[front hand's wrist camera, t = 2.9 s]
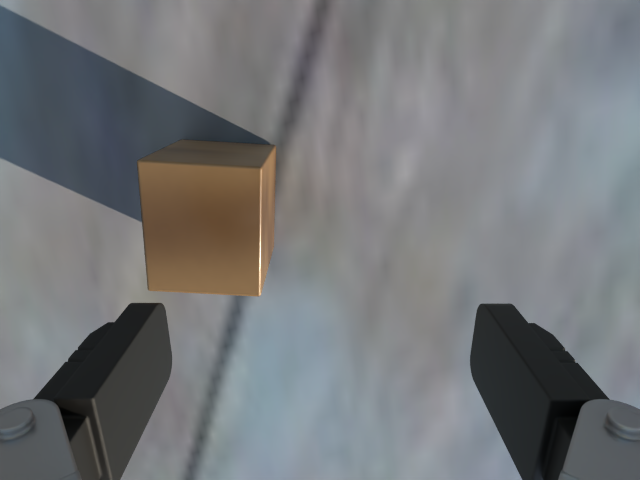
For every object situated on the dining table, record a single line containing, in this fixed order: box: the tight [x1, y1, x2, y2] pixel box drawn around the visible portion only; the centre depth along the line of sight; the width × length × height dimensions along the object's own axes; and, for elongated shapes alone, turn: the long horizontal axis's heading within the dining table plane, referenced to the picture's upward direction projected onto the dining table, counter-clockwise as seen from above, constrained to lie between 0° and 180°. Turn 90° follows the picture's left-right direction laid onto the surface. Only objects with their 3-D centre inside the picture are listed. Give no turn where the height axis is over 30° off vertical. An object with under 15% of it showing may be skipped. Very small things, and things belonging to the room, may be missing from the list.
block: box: [137, 140, 276, 296], centre depth 17 cm, size 5×4×5 cm
